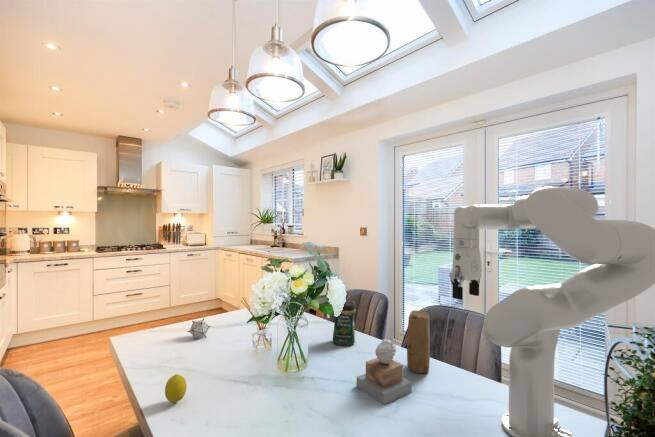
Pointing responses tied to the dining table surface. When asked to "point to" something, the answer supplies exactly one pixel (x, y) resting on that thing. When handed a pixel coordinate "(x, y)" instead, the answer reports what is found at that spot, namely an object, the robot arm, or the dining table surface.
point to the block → (418, 342)
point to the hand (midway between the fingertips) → (466, 296)
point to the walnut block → (384, 372)
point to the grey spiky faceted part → (199, 329)
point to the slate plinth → (381, 393)
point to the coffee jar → (345, 325)
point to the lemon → (175, 388)
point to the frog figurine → (385, 351)
